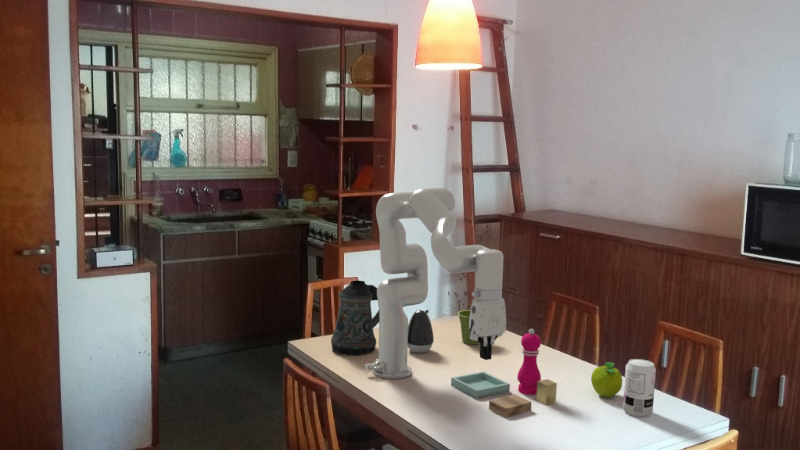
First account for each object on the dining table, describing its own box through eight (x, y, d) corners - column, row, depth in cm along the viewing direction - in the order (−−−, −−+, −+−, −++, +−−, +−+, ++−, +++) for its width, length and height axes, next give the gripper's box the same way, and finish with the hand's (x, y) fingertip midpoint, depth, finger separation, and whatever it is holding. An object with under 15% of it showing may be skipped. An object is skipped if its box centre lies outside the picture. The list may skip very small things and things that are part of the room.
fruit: (621, 392, 225) (623, 361, 223) (620, 403, 216) (622, 371, 215) (591, 388, 228) (593, 358, 226) (589, 398, 219) (591, 367, 218)
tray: (476, 398, 216) (476, 390, 216) (451, 385, 227) (451, 377, 227) (509, 391, 223) (509, 383, 223) (483, 378, 234) (483, 371, 234)
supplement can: (618, 407, 213) (621, 358, 211) (645, 407, 213) (649, 358, 211) (629, 418, 205) (633, 367, 203) (657, 418, 205) (661, 367, 203)
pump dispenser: (438, 350, 263) (440, 309, 261) (424, 357, 255) (425, 315, 253) (414, 345, 269) (416, 305, 267) (399, 351, 260) (401, 310, 258)
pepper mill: (540, 396, 220) (543, 333, 217) (516, 394, 221) (519, 331, 218) (540, 388, 227) (543, 326, 224) (517, 386, 228) (520, 324, 225)
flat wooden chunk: (505, 418, 203) (505, 408, 202) (488, 410, 208) (489, 400, 208) (531, 411, 208) (531, 402, 208) (514, 404, 214) (514, 394, 214)
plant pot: (489, 347, 268) (490, 318, 267) (457, 346, 268) (458, 317, 267) (486, 338, 280) (487, 310, 279) (455, 337, 280) (456, 309, 279)
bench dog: (545, 404, 213) (546, 385, 212) (536, 400, 216) (537, 381, 216) (555, 402, 215) (556, 383, 214) (546, 398, 218) (547, 379, 218)
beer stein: (321, 348, 261) (322, 281, 258) (358, 338, 276) (360, 274, 272) (353, 359, 250) (355, 289, 247) (391, 347, 265) (392, 281, 261)
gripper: (474, 299, 191) (472, 366, 194) (517, 294, 199) (514, 358, 202) (458, 294, 198) (455, 358, 200) (500, 289, 206) (497, 351, 208)
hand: (485, 358), depth 201 cm, fingers closed
